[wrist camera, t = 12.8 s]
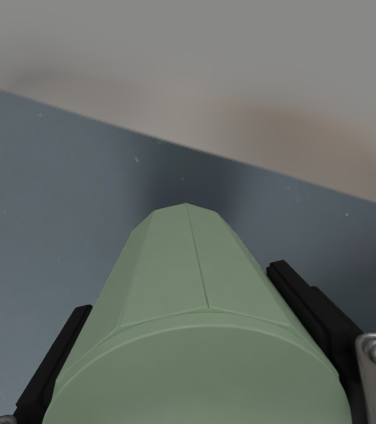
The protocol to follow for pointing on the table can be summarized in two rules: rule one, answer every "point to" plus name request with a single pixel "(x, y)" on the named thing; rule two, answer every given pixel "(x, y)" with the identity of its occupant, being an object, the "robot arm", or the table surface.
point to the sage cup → (194, 338)
